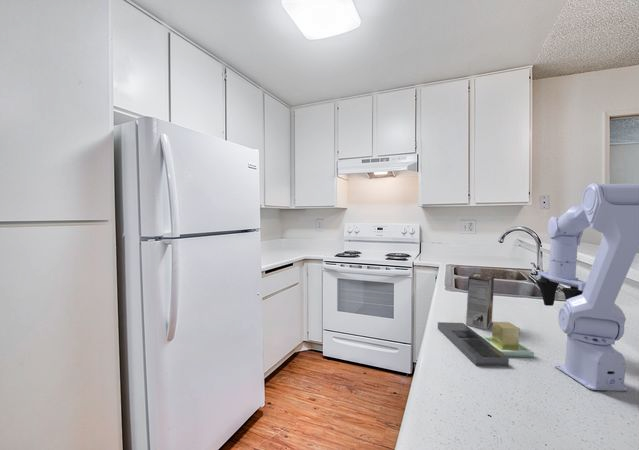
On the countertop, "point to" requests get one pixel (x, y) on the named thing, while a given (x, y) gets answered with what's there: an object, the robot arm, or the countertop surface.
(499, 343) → the brass cube
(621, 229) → the robot arm
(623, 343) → the countertop surface
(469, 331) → the grey flat long piece
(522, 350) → the tray
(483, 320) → the coffee box
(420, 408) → the countertop surface
